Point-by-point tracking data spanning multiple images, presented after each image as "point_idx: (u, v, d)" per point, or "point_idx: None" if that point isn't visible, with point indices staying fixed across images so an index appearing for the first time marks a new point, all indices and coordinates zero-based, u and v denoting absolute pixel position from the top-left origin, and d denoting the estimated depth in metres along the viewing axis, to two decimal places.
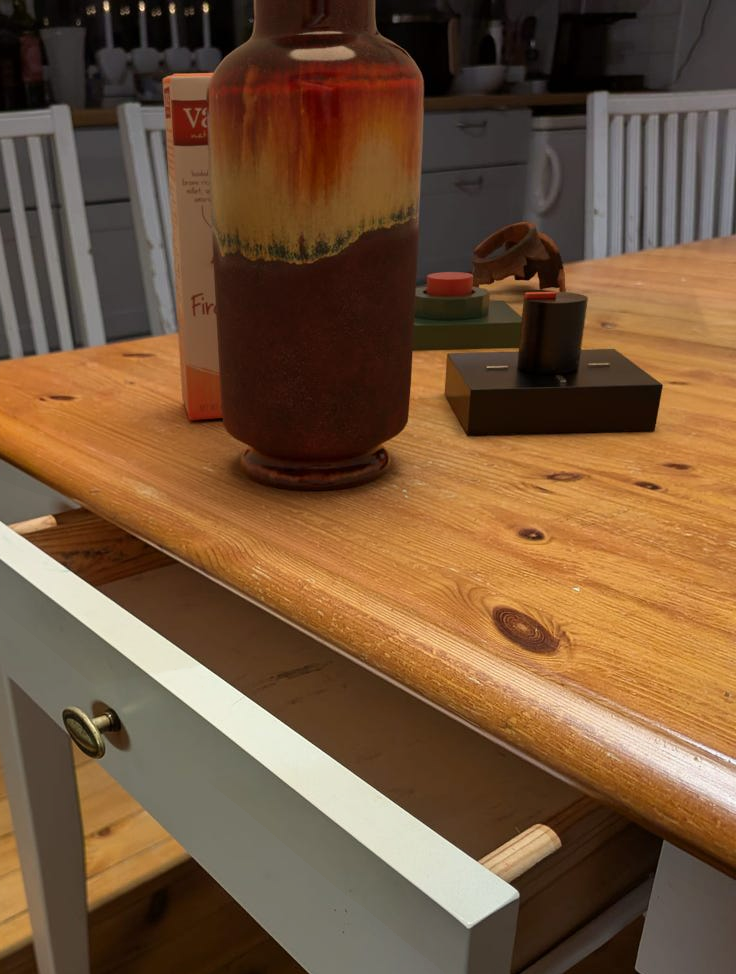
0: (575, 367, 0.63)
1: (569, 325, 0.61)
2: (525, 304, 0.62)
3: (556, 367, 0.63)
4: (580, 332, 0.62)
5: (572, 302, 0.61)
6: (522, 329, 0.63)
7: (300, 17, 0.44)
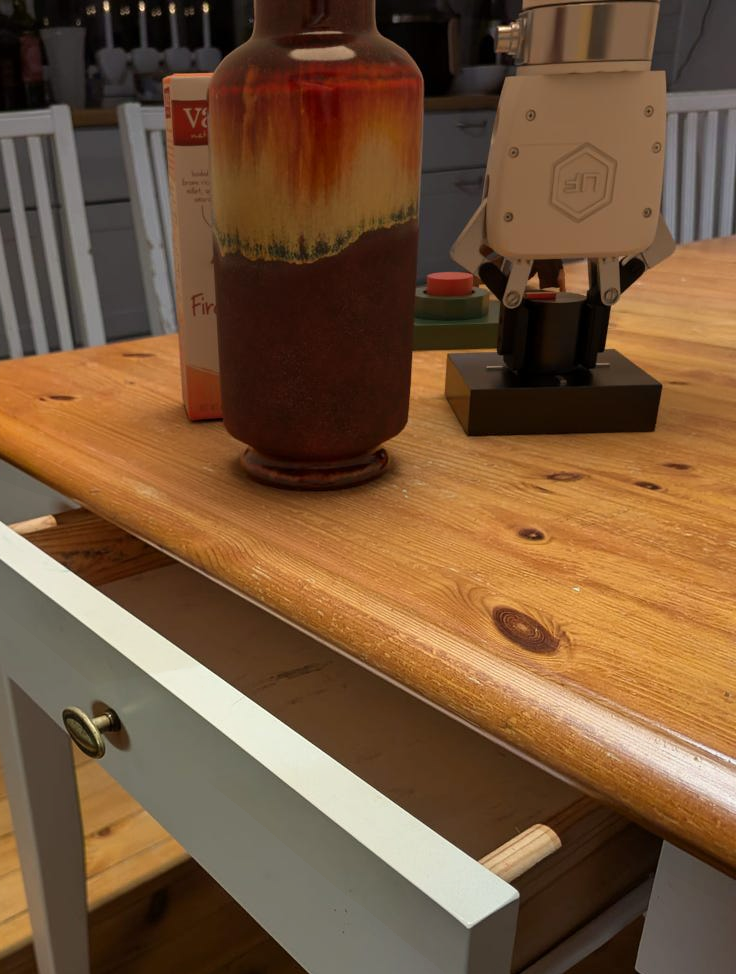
0: (575, 367, 0.63)
1: (569, 325, 0.61)
2: (525, 304, 0.62)
3: (556, 367, 0.63)
4: (580, 332, 0.62)
5: (572, 302, 0.61)
6: None
7: (300, 17, 0.44)
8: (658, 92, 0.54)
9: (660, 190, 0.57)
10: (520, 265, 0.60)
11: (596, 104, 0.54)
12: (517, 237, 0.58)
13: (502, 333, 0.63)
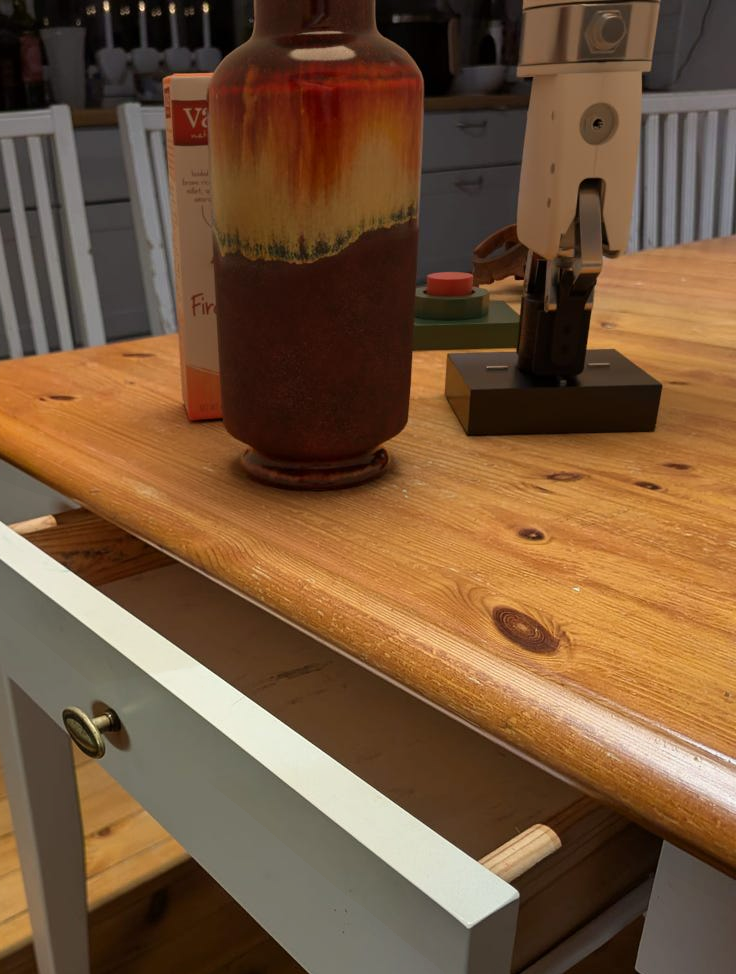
0: None
1: None
2: None
3: None
4: None
5: None
6: None
7: (300, 17, 0.44)
8: None
9: None
10: None
11: None
12: None
13: (575, 341, 0.60)
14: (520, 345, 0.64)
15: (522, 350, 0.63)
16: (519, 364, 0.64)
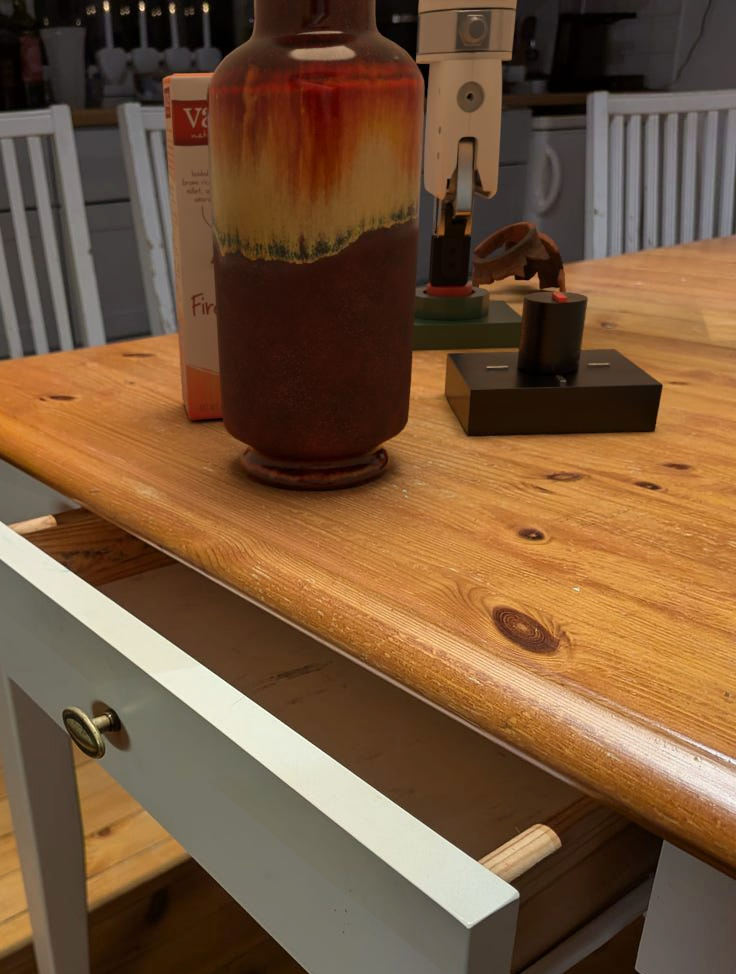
0: None
1: None
2: (566, 308, 0.61)
3: None
4: None
5: (582, 295, 0.63)
6: (560, 334, 0.61)
7: (300, 17, 0.44)
8: None
9: None
10: None
11: None
12: None
13: (459, 259, 0.82)
14: (520, 345, 0.64)
15: (522, 350, 0.63)
16: (519, 364, 0.64)
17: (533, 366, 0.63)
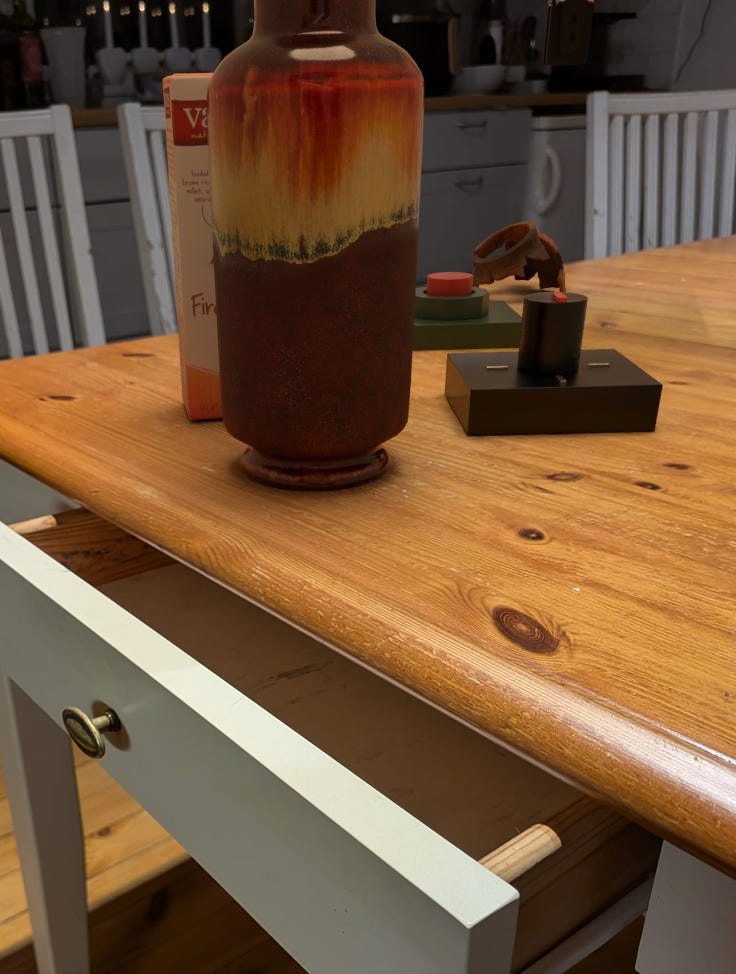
0: None
1: None
2: (566, 308, 0.61)
3: None
4: None
5: (582, 295, 0.63)
6: (560, 334, 0.61)
7: (300, 17, 0.44)
8: None
9: None
10: None
11: None
12: None
13: (580, 29, 0.74)
14: (520, 345, 0.64)
15: (522, 350, 0.63)
16: (519, 364, 0.64)
17: (533, 366, 0.63)
